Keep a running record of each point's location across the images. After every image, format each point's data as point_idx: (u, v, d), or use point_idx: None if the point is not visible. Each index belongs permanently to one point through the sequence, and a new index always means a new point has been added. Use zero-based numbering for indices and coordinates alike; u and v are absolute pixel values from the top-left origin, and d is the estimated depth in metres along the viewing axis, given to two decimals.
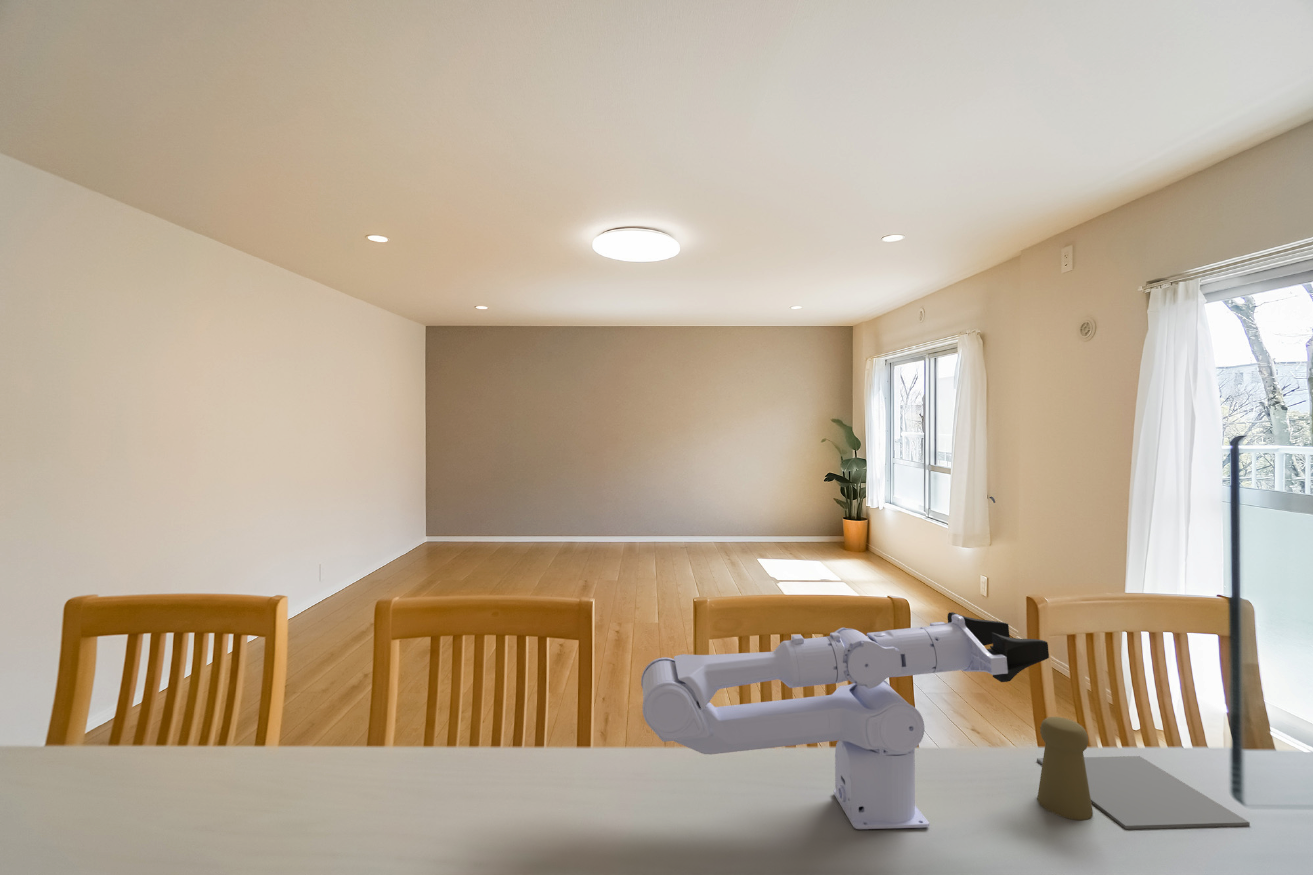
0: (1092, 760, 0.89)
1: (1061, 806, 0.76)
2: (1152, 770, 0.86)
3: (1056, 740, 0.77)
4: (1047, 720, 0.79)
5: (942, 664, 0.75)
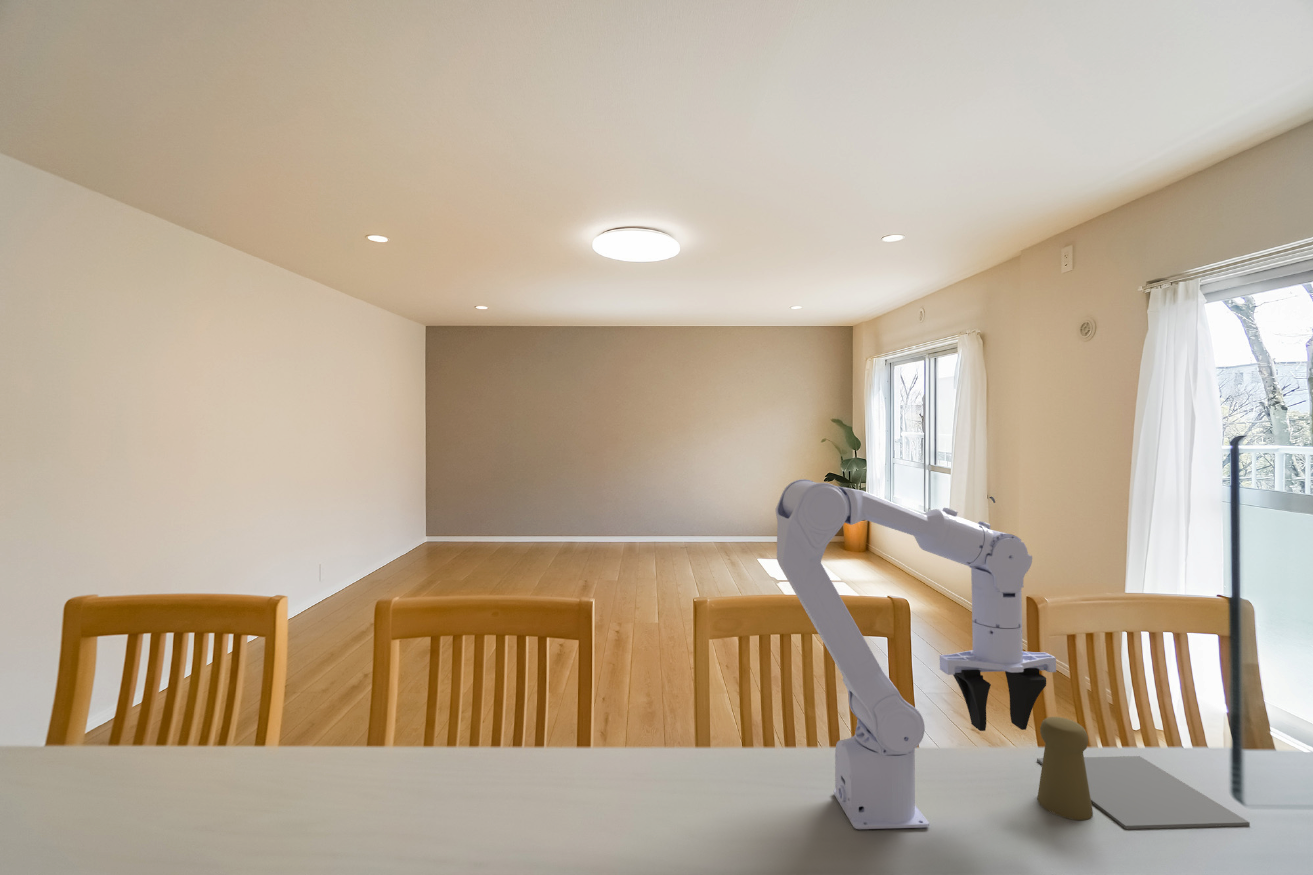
0: (1092, 760, 0.89)
1: (1061, 806, 0.76)
2: (1152, 770, 0.86)
3: (1056, 740, 0.77)
4: (1047, 720, 0.79)
5: (972, 626, 0.79)
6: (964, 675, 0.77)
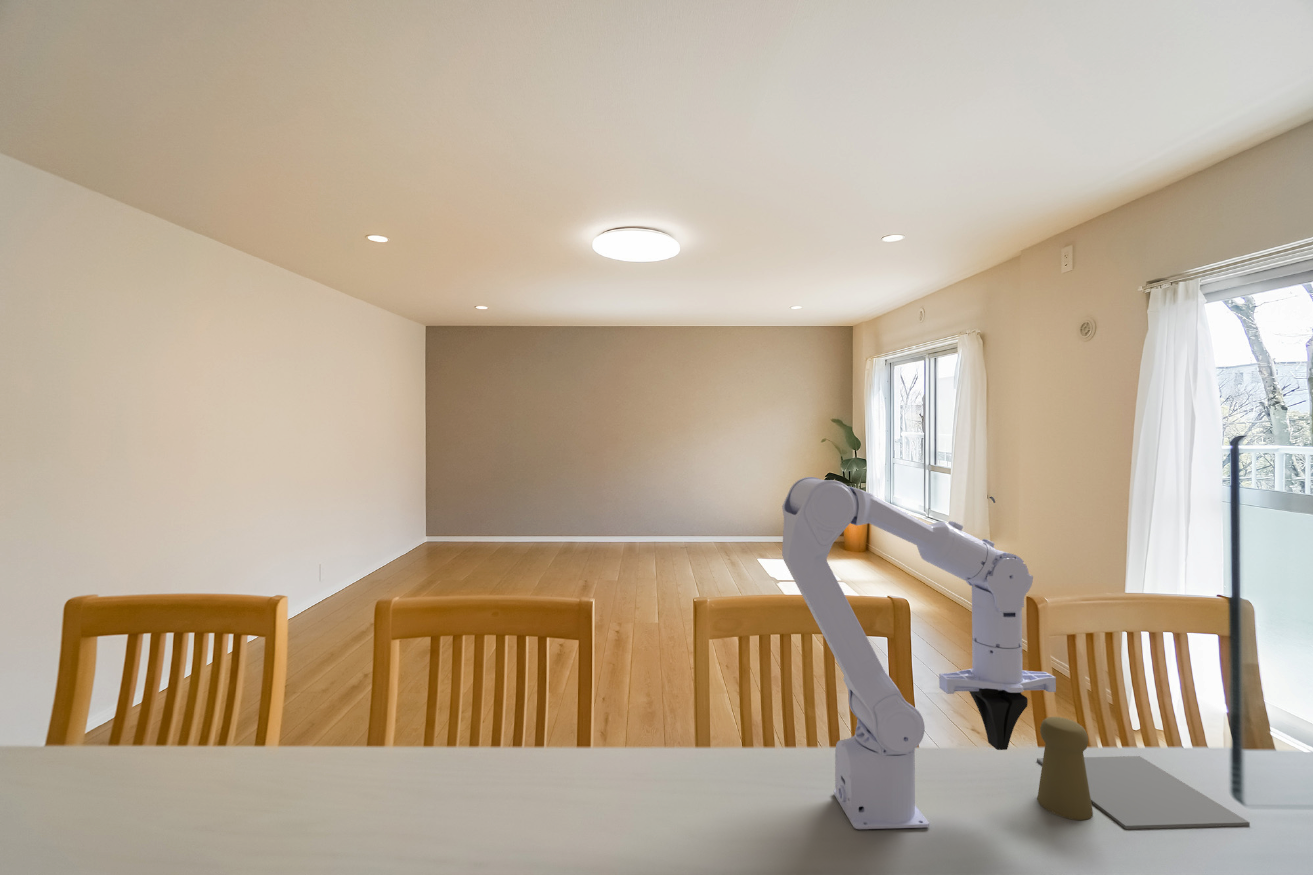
0: (1092, 760, 0.89)
1: (1061, 806, 0.76)
2: (1152, 770, 0.86)
3: (1056, 740, 0.77)
4: (1047, 720, 0.79)
5: (972, 645, 0.79)
6: (982, 694, 0.77)
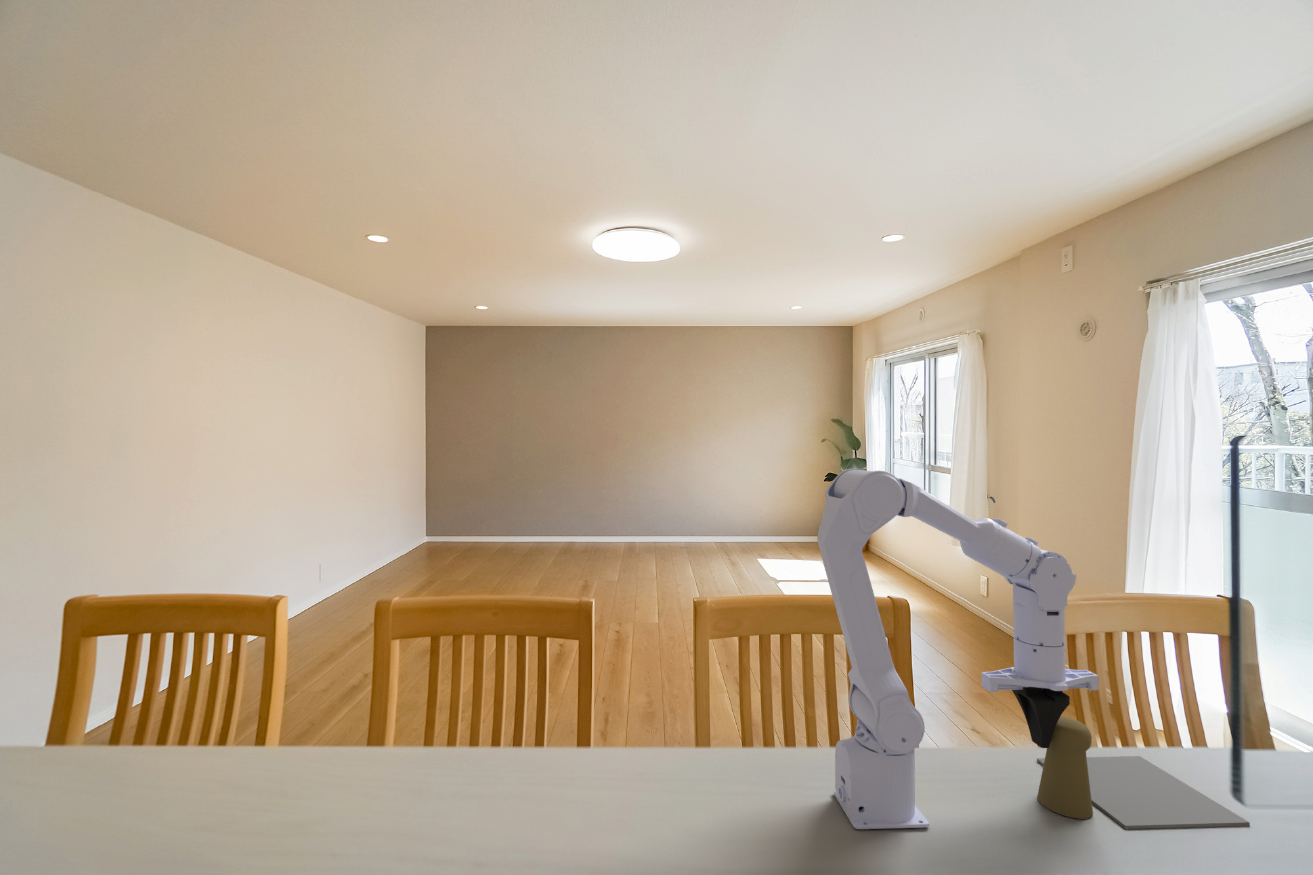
0: (1092, 760, 0.89)
1: (1061, 804, 0.76)
2: (1152, 770, 0.86)
3: (1059, 738, 0.77)
4: None
5: (1014, 643, 0.79)
6: (1026, 692, 0.77)
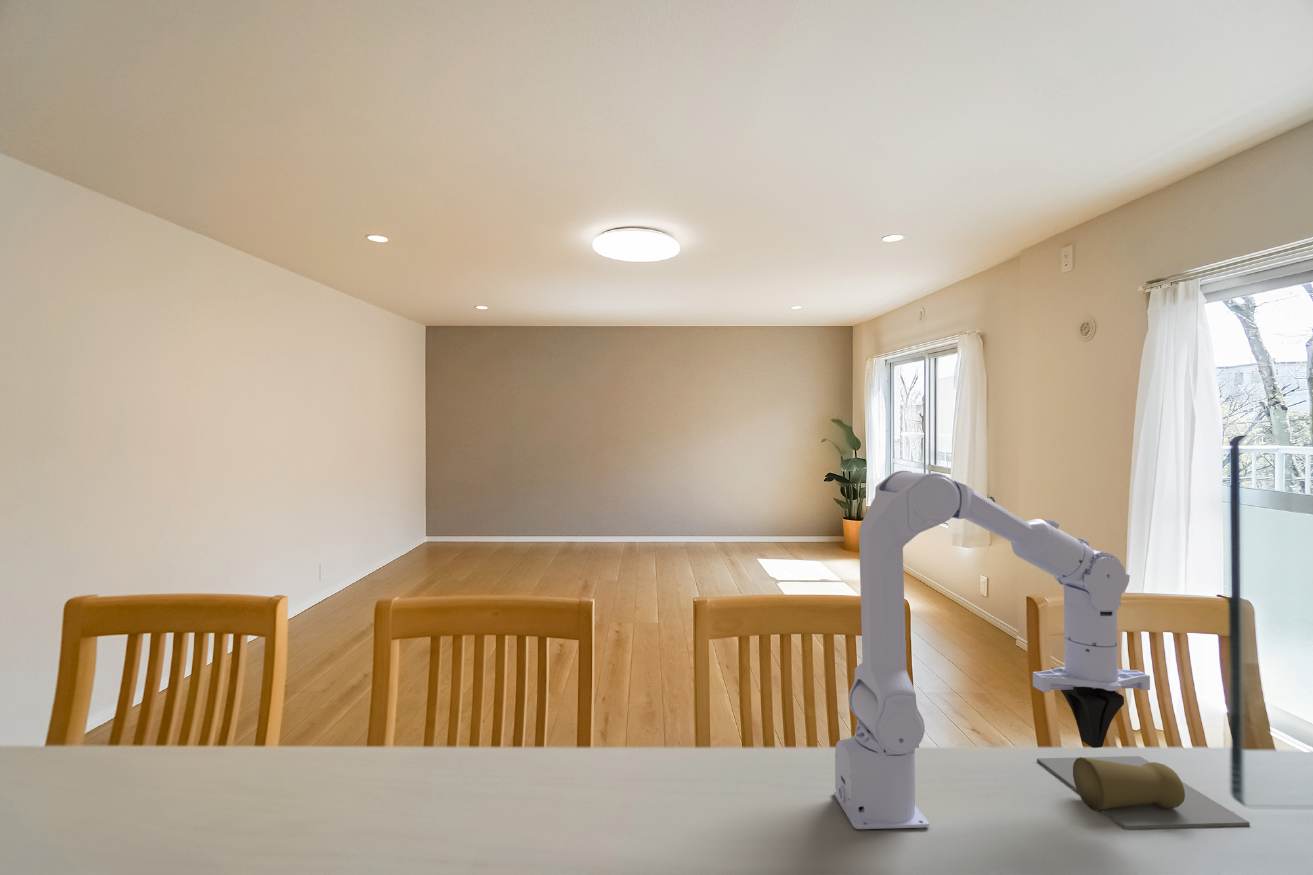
0: None
1: (1109, 779, 0.76)
2: None
3: (1170, 776, 0.76)
4: None
5: (1065, 643, 0.80)
6: (1077, 692, 0.78)
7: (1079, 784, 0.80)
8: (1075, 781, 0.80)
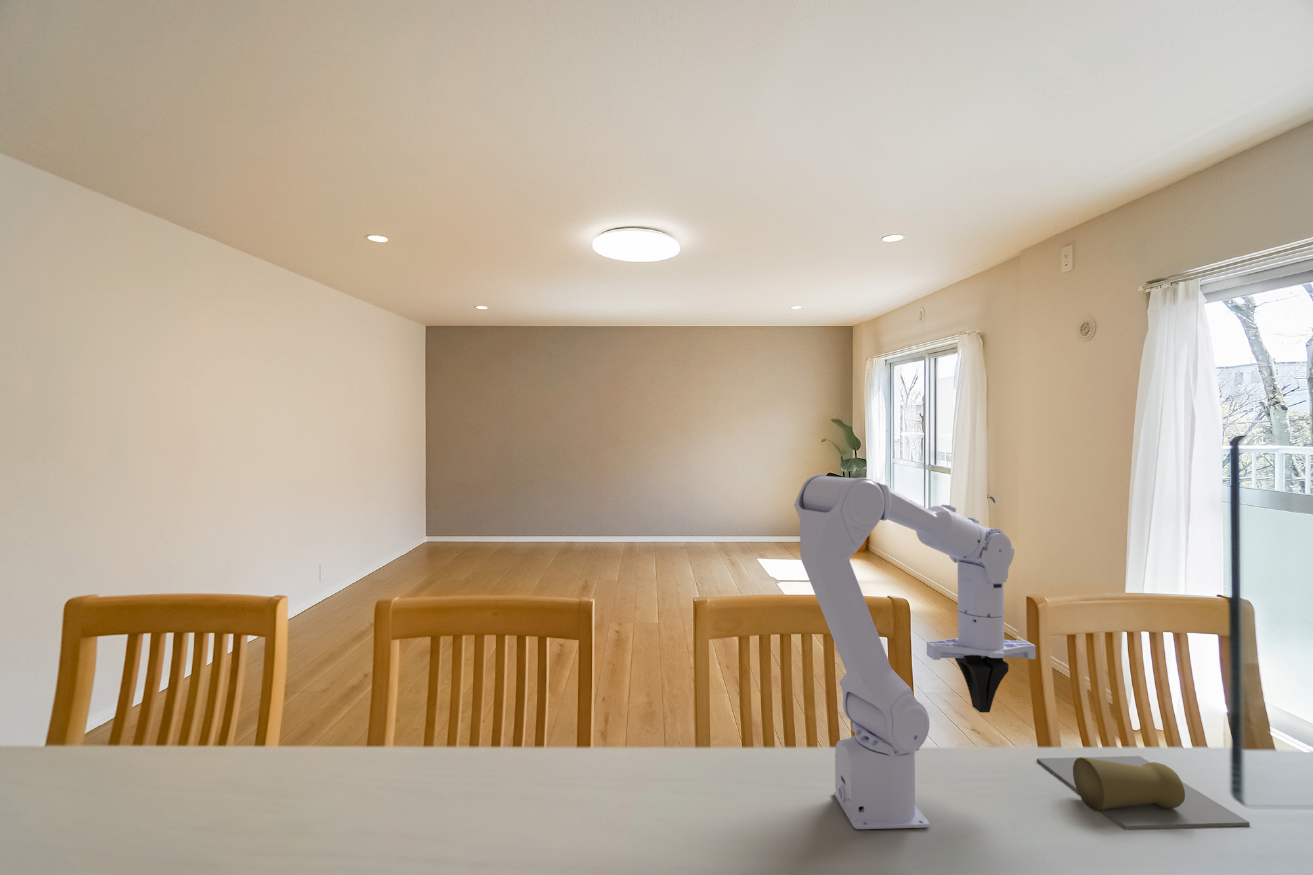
0: None
1: (1109, 779, 0.76)
2: None
3: (1170, 776, 0.76)
4: None
5: (958, 615, 0.85)
6: (966, 660, 0.83)
7: (1079, 784, 0.80)
8: (1075, 781, 0.80)
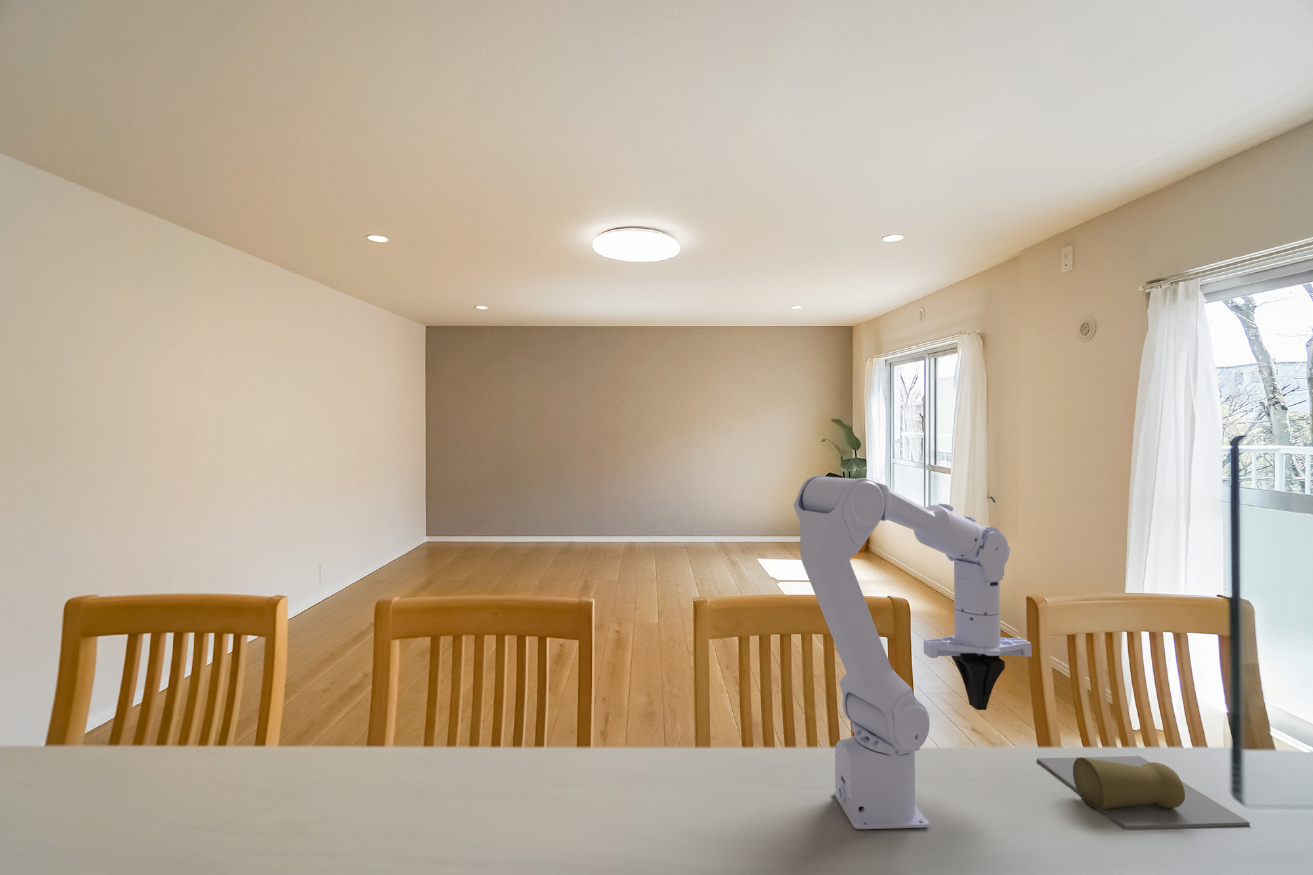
0: None
1: (1109, 779, 0.76)
2: None
3: (1170, 776, 0.76)
4: None
5: (954, 613, 0.85)
6: (963, 658, 0.83)
7: (1079, 784, 0.80)
8: (1075, 781, 0.80)
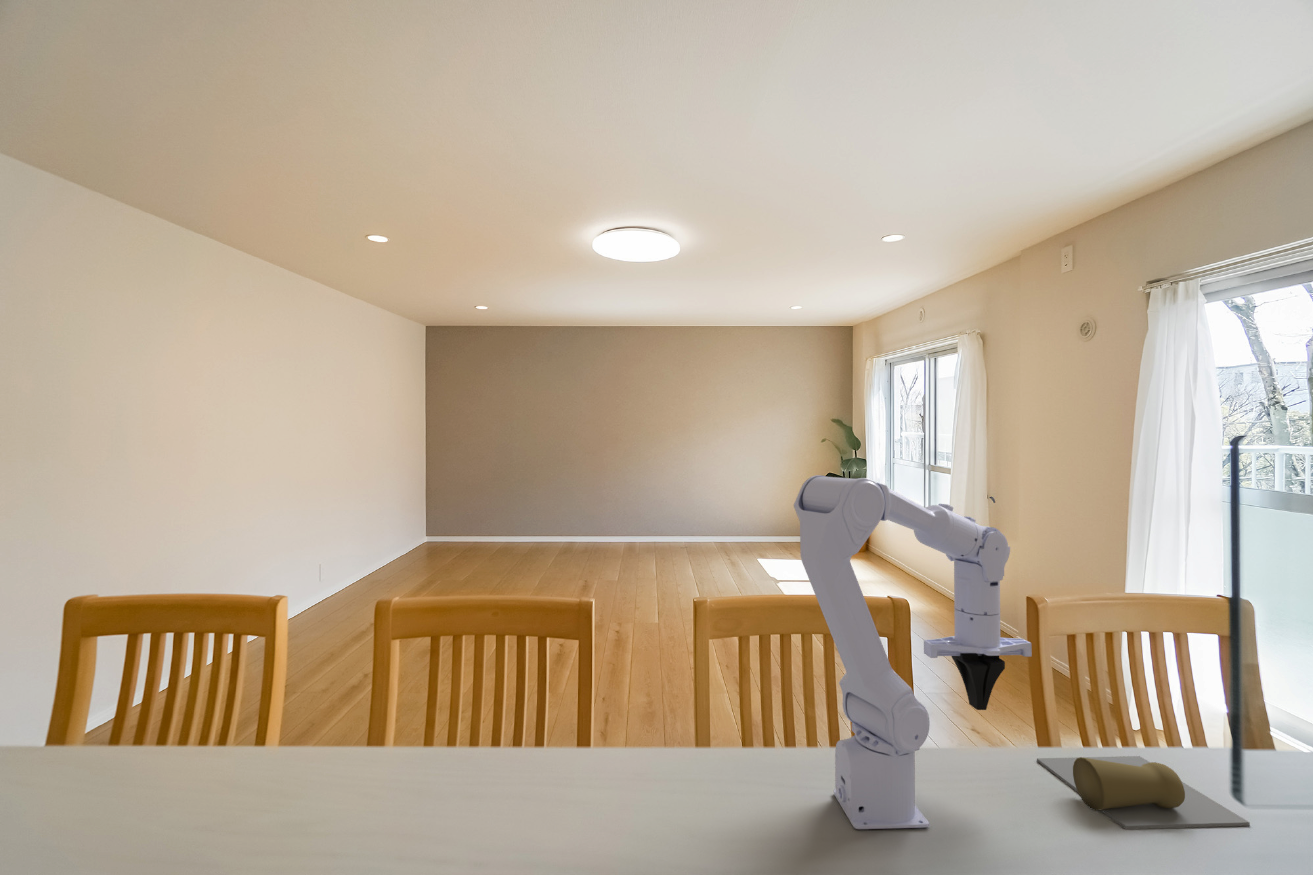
0: None
1: (1109, 779, 0.76)
2: None
3: (1170, 776, 0.76)
4: None
5: (954, 613, 0.85)
6: (963, 658, 0.83)
7: (1079, 784, 0.80)
8: (1075, 781, 0.80)
